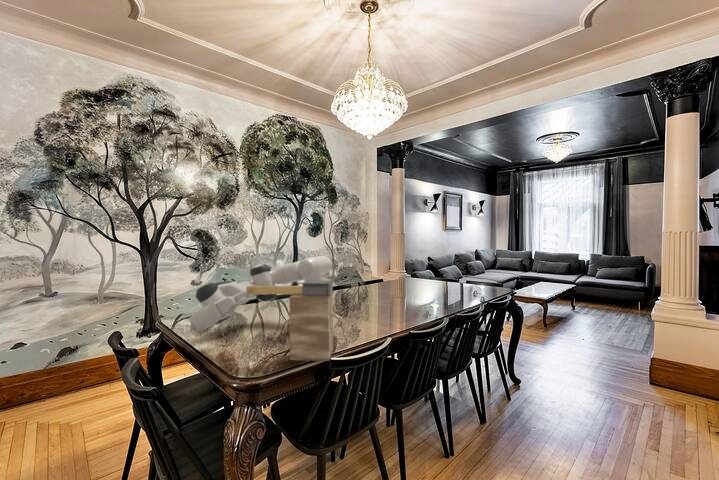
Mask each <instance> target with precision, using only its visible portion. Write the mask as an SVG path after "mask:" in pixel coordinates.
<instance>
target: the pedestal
mask: <svg viewBox="0 0 719 480" xmlns="http://www.w3.org/2000/svg"><path fill="white" fill-rule="evenodd" d="M333 294H334V293H332V294H331V296H303V294H291V295H290V296H289V359H290V361H309V360H312V361H313V362H314V361H316V362H317V361H321V362H322V361H323V362H329V361H330V359H331V356H332V354H333V352H332V351H334V317H333V316H334V308H333V307H334V306H333V305H334V299H333V297H334V295H333Z"/></svg>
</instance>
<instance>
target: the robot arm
mask: <svg viewBox="0 0 719 480" xmlns="http://www.w3.org/2000/svg"><path fill="white" fill-rule="evenodd" d="M272 268H273V267H272V266H269V265H268V264H264V263H263V264H262V263H260V264H259V263H258V264H256V265H253V267H252V268H251V269H250V270H249V271H250V273H249V274H250V277H251V280H252V281H250V280H244V281H240V282H238V283H236V282H234V281H233V280H224V281H219V282H208V283H205V284H203V285H201V286H200V287H199V288H197V290H196V292H195V299H196V300H197V301H198V302H199V303H200V304H201V306H202V307H201V308H199V309H198V310H197V311H196V312H195V313H193V314H192V315H191V316H190V318H189V321H190V324H191V325H192V327H193V329H194V330H196V331H198V332H200V331H204V330H206V329H207V328H210V327H212V326H214V325H219V324H221V323H223V322H224V321H226V320H228V319H229V318H230V316H231V315H233V314H234V313H235V310H236V308H237V306H241V305H244V304H246V303H247V302H249V301H250V300H251V299H252V298H253V297H255V299H256V300H258V301H261V302H265V303H266V302H270V301H273V300H274V299H275V298H277V297H278V294H248V293H247V291H246V287H247V286H276V285H287V284H291V283H296V282H299V281H303V282H306V281H323V279H322V278H323V277H322V276H323V275H326V274H327V273H329V272H330V271H331V270H332V268H333V262H332V260H331V258H329V257H328V256H325V255H317V256H309V257H306V258H303V259H302V260H298V261H295V262H290V263H288V264H284V265H281V266H279V267H277V268H275V269H272Z"/></svg>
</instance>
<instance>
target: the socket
mask: <svg viewBox="0 0 719 480" xmlns="http://www.w3.org/2000/svg"><path fill="white" fill-rule="evenodd" d="M333 285H334V284H333V280H322V281H306V282H305V281H303V283H302V286H303V296H331V294H332V293H333V292H334V291H333V289H334V288H333V287H334V286H333ZM333 294H334V293H333Z"/></svg>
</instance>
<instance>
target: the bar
mask: <svg viewBox="0 0 719 480" xmlns="http://www.w3.org/2000/svg"><path fill="white" fill-rule="evenodd" d="M246 291H247V293H248V294H277V295H293V294H303V285H275V286H247V287H246Z"/></svg>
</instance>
